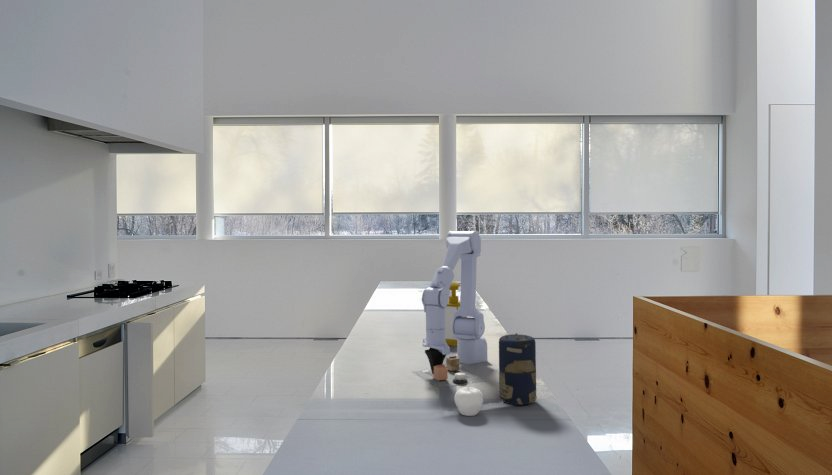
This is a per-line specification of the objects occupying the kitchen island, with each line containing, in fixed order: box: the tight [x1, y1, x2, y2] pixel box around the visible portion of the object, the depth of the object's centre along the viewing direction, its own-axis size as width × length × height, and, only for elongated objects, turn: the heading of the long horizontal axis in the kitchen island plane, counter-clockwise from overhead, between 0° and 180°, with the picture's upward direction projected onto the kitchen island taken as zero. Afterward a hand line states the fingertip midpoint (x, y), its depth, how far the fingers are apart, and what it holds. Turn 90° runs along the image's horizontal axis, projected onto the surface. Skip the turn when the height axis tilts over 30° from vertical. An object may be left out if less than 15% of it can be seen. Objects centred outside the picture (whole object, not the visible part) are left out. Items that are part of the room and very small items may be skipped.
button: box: [455, 373, 465, 380], centre depth 169 cm, size 3×3×1 cm
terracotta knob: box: [434, 363, 448, 380], centre depth 171 cm, size 3×3×4 cm
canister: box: [498, 332, 537, 405], centre depth 154 cm, size 10×10×18 cm
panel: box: [412, 367, 486, 389], centre depth 175 cm, size 15×19×2 cm
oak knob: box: [445, 355, 460, 371], centre depth 182 cm, size 3×3×4 cm
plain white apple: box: [454, 382, 484, 417], centre depth 145 cm, size 7×7×8 cm
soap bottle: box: [445, 281, 467, 347], centre depth 228 cm, size 7×13×24 cm, turn 148°
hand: (436, 373), depth 174 cm, fingers closed
